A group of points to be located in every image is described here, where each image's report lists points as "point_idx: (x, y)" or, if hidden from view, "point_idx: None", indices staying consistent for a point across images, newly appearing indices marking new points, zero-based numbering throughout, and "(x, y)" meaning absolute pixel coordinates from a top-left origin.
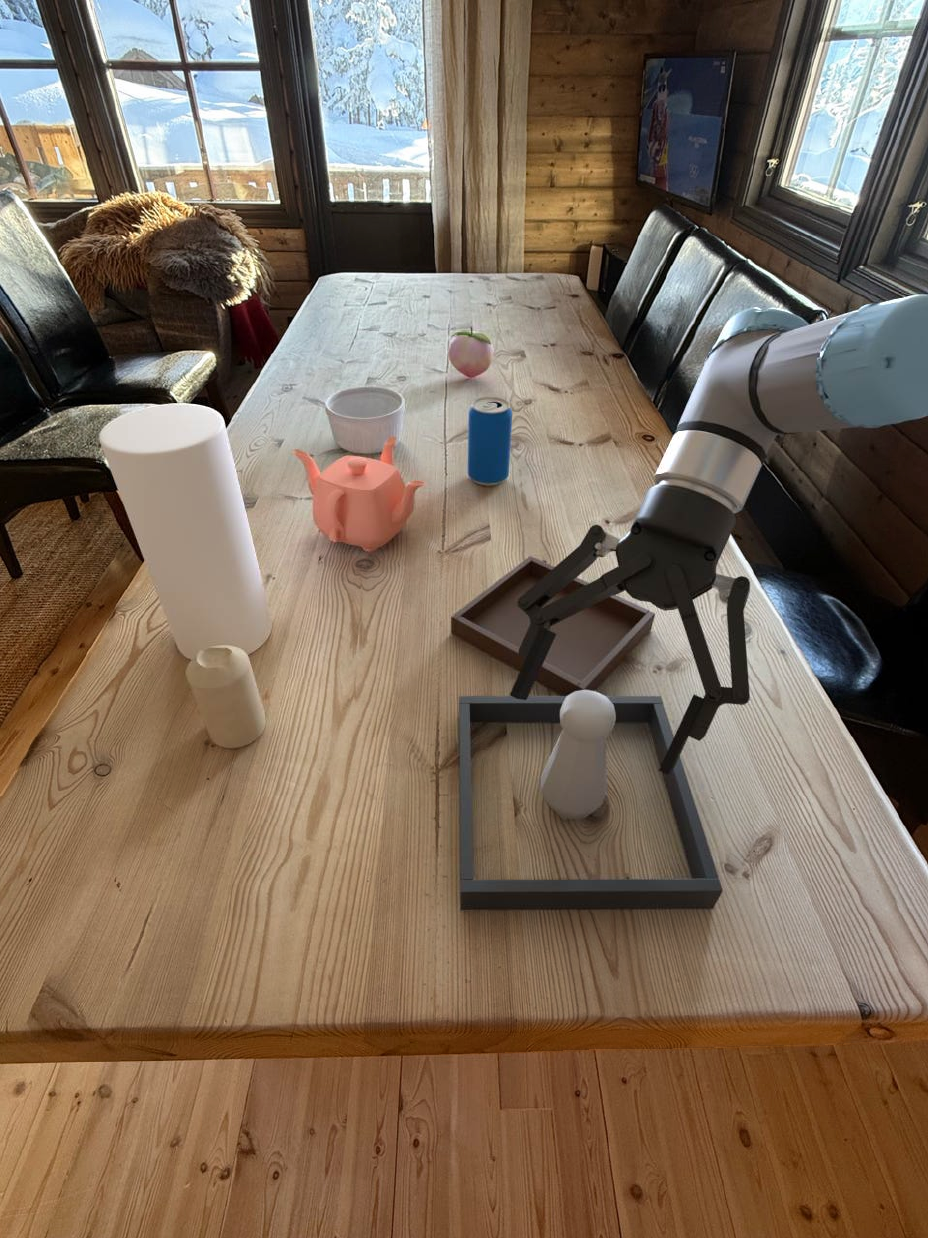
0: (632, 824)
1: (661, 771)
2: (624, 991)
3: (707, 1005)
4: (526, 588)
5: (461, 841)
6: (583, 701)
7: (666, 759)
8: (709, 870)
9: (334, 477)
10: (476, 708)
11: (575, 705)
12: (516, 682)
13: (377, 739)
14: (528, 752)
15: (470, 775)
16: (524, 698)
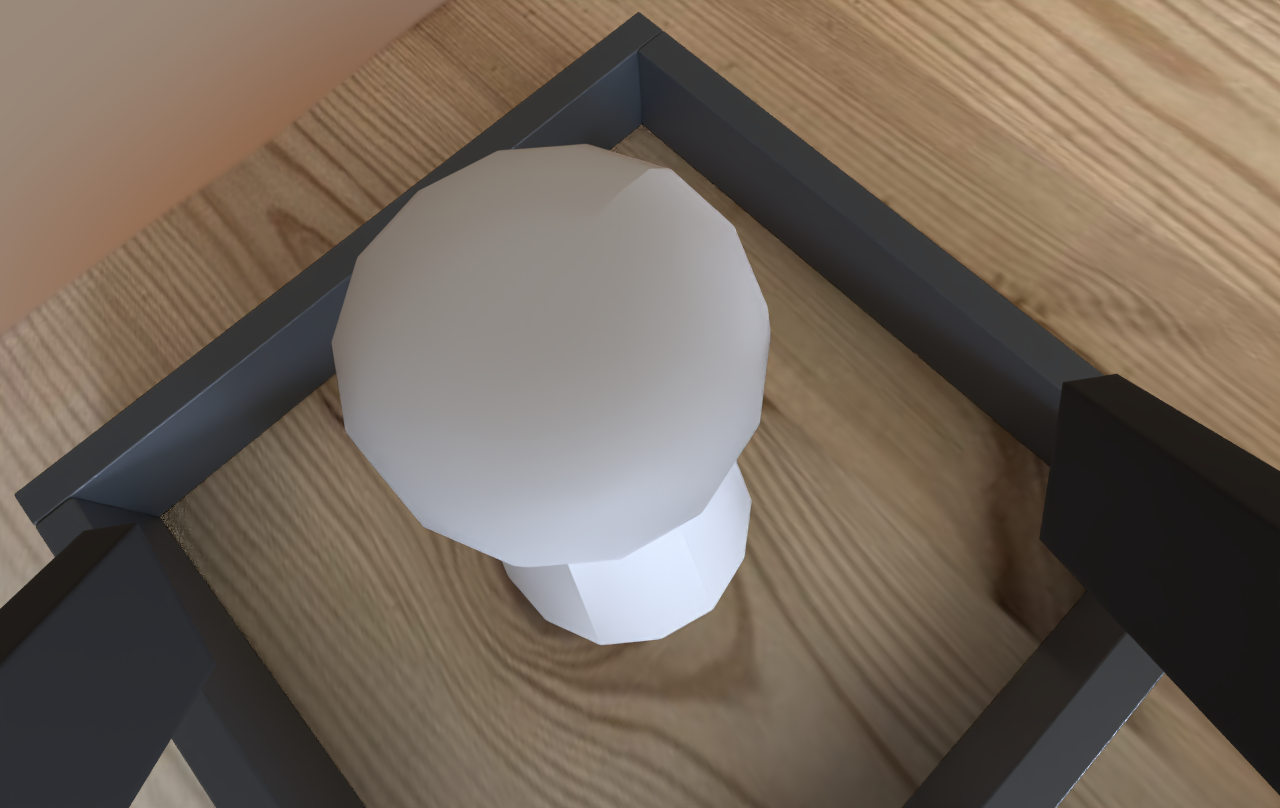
0: (419, 598)
1: (121, 526)
2: (243, 201)
3: (69, 297)
4: None
5: (743, 96)
6: (599, 291)
7: (76, 574)
8: (68, 530)
9: None
10: None
11: (625, 216)
12: (1176, 413)
13: (1260, 264)
14: (872, 591)
15: (909, 264)
16: (1050, 505)
